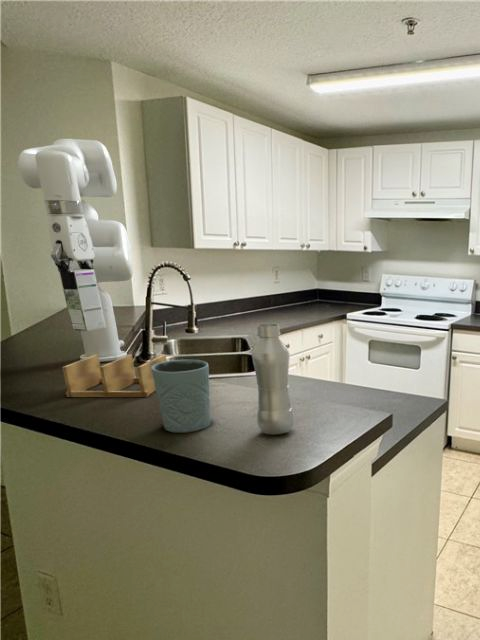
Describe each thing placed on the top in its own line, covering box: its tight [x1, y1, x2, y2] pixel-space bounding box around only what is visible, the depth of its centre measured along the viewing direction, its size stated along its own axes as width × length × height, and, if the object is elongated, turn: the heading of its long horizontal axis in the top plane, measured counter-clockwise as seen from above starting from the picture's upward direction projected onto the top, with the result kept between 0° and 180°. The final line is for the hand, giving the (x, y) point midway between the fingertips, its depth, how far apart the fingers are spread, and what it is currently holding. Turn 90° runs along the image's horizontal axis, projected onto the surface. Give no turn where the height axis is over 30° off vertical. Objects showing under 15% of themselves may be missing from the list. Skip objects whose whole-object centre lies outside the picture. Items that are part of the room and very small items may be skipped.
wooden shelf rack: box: [61, 353, 167, 398], centre depth 130 cm, size 14×18×7 cm
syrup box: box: [58, 269, 106, 332], centre depth 136 cm, size 6×6×14 cm
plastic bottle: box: [251, 323, 295, 435], centre depth 99 cm, size 6×7×20 cm
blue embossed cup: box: [151, 359, 212, 434], centre depth 104 cm, size 10×10×12 cm
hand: (80, 287), depth 134 cm, fingers closed on syrup box, 7 cm apart
